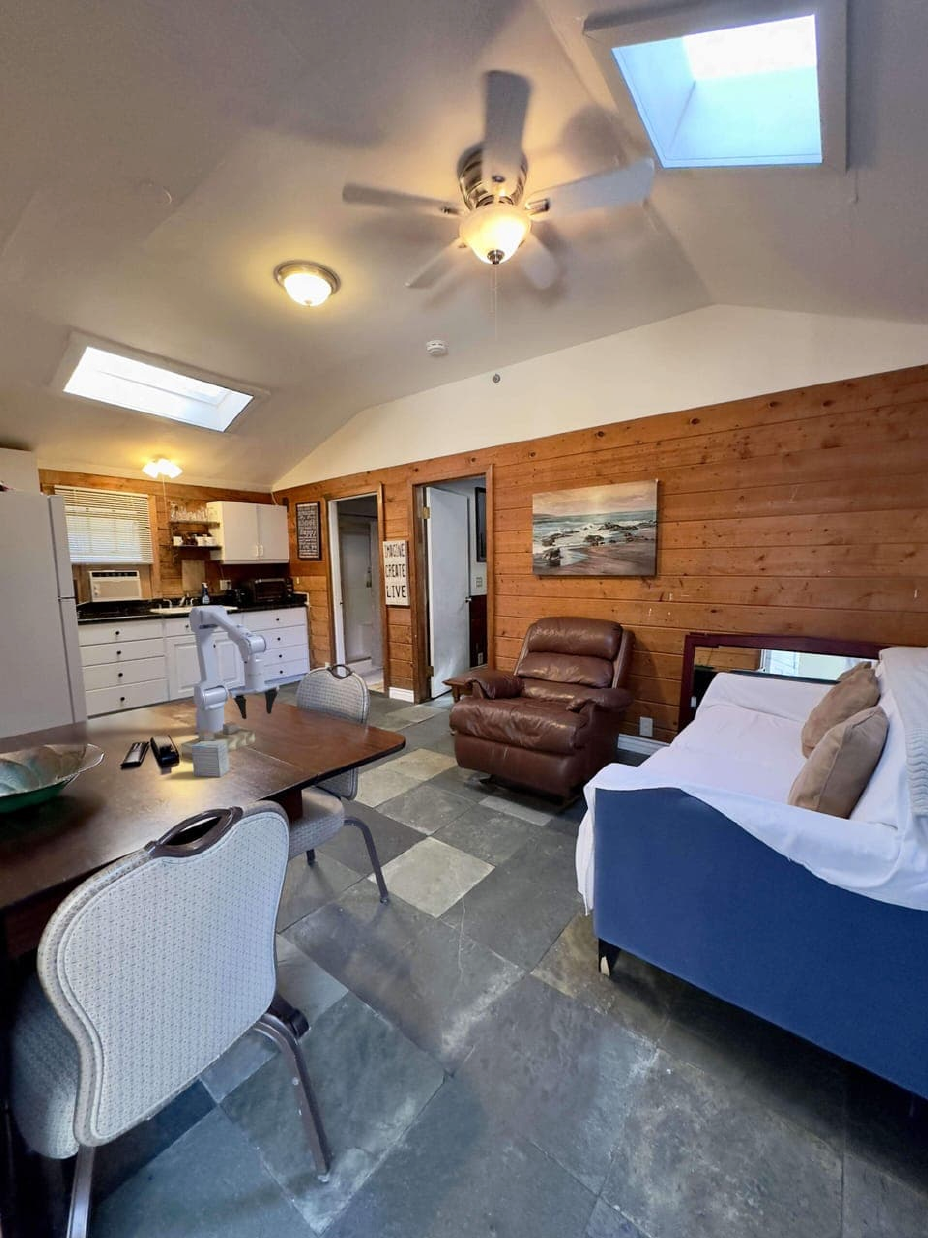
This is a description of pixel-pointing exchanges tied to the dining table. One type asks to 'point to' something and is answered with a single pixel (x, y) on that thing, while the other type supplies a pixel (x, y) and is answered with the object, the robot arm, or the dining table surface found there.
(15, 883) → the dining table surface
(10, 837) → the dining table surface
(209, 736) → the near peg
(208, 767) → the medicine box
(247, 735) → the socket board
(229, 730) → the far peg
